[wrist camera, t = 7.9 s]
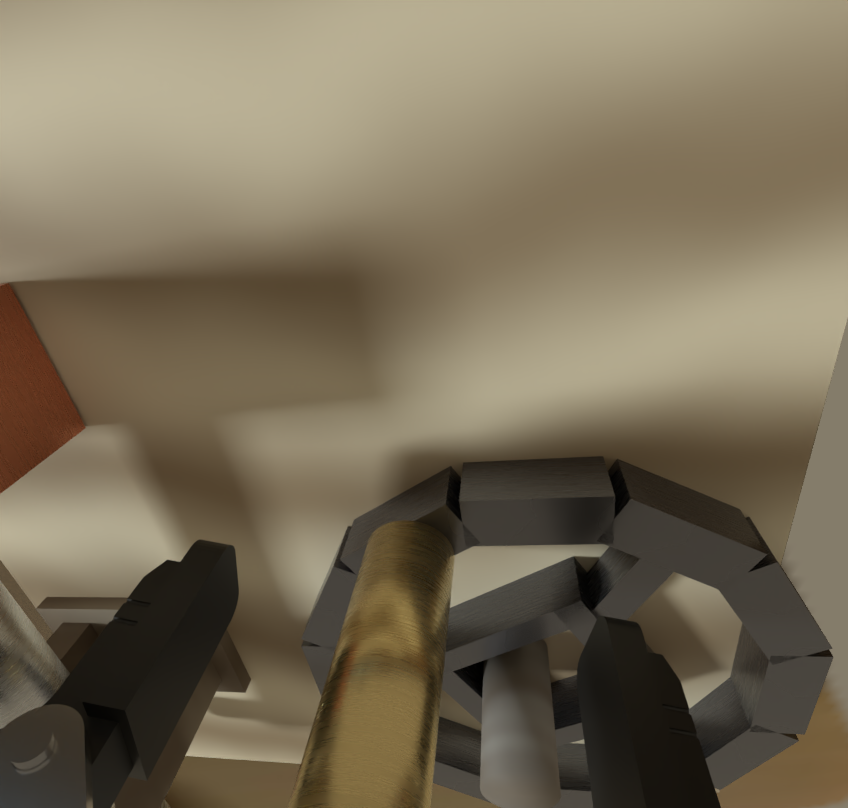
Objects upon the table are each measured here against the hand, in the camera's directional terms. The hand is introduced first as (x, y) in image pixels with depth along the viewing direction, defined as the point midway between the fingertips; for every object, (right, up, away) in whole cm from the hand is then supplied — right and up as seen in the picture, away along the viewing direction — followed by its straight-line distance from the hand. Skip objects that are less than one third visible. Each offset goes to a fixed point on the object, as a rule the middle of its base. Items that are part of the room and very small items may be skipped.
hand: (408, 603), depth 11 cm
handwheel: (+4, -3, +5) cm, 7 cm away
